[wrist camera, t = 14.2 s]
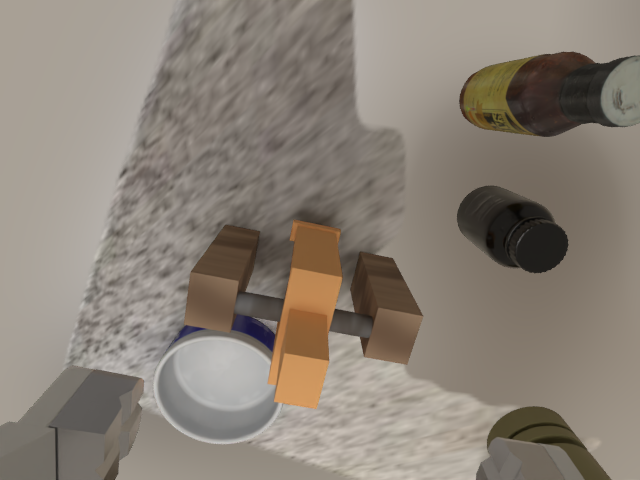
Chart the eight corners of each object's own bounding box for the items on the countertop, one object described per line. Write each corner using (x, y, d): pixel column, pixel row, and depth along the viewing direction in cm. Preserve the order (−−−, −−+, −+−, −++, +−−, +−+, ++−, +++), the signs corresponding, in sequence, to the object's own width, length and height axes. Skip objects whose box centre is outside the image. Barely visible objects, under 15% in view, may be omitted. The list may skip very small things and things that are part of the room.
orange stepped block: (293, 219, 42) (280, 300, 25) (340, 229, 43) (357, 314, 26) (274, 314, 46) (250, 441, 29) (317, 322, 46) (319, 452, 29)
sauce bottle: (450, 124, 43) (556, 137, 25) (465, 61, 41) (592, 24, 23) (509, 133, 44) (657, 153, 25) (526, 71, 42) (701, 43, 23)
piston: (651, 513, 46) (576, 570, 48) (583, 431, 57) (526, 481, 60) (584, 468, 43) (509, 530, 46) (527, 392, 55) (470, 446, 57)
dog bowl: (245, 428, 56) (237, 465, 50) (147, 372, 53) (127, 405, 47) (310, 351, 52) (310, 382, 47) (209, 287, 49) (196, 311, 43)
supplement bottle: (460, 248, 48) (506, 292, 37) (450, 193, 46) (496, 222, 34) (518, 233, 47) (583, 273, 36) (511, 177, 45) (577, 201, 34)
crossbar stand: (225, 224, 46) (190, 271, 33) (392, 258, 48) (423, 316, 35) (219, 264, 48) (183, 324, 35) (381, 295, 50) (407, 364, 36)
